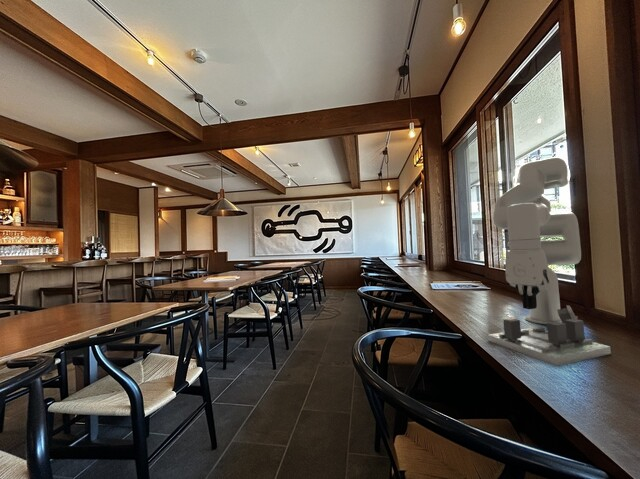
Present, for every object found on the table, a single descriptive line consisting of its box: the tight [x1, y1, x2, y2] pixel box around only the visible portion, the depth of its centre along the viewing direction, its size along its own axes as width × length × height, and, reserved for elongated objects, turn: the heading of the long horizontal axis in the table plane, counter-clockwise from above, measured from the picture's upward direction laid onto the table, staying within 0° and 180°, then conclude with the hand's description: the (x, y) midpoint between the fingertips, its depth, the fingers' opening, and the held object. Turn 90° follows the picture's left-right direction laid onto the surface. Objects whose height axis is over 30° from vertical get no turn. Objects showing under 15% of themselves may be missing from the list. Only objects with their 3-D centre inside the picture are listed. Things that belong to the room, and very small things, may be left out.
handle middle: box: [546, 322, 567, 345], centre depth 80 cm, size 4×3×6 cm
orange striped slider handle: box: [502, 317, 522, 340], centre depth 86 cm, size 4×3×6 cm
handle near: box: [565, 319, 586, 341], centre depth 81 cm, size 4×3×6 cm
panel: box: [487, 326, 612, 367], centre depth 83 cm, size 20×21×3 cm
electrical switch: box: [557, 304, 579, 323], centre depth 92 cm, size 9×5×9 cm, turn 141°
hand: (529, 308), depth 81 cm, fingers closed
